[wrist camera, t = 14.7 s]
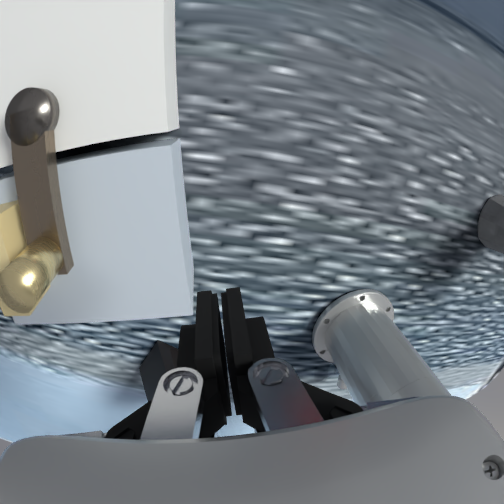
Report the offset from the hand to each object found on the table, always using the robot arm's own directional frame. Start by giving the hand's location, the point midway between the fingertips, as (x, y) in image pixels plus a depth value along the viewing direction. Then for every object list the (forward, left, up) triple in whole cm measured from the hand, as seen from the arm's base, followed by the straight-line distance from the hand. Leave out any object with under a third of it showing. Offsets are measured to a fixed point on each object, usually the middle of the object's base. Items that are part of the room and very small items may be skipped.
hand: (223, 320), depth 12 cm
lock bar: (+5, +12, -10) cm, 17 cm away
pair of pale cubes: (+7, +12, -21) cm, 25 cm away
